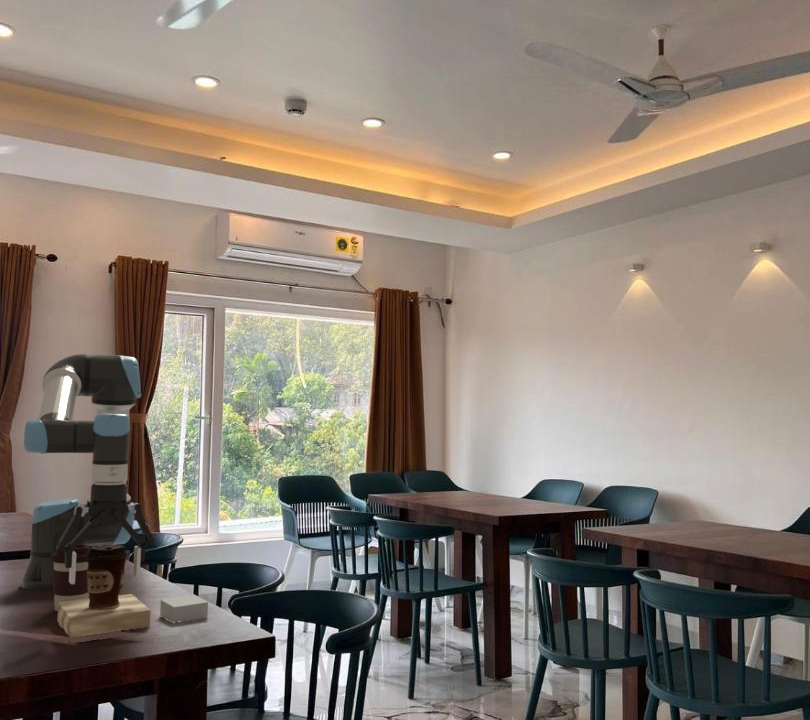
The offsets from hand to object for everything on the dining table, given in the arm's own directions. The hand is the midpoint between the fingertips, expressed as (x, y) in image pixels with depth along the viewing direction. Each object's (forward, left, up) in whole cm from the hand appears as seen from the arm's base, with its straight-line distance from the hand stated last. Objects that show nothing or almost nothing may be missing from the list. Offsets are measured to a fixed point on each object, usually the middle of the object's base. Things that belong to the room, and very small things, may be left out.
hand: (104, 579), depth 169 cm
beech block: (0, 0, -11) cm, 11 cm away
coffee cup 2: (+1, 0, -6) cm, 6 cm away
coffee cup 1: (-20, -3, -11) cm, 23 cm away
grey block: (+3, +17, -11) cm, 20 cm away
